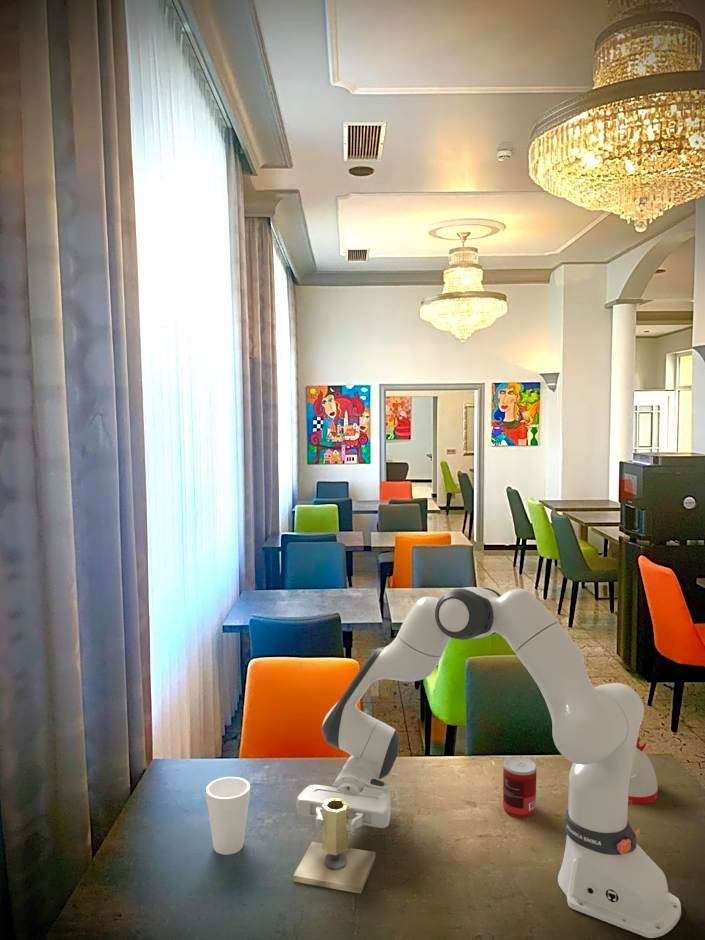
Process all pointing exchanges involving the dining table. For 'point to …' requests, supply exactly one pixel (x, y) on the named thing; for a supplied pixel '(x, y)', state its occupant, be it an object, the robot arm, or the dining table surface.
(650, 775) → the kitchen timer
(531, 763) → the canned food
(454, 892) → the dining table surface
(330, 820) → the collar
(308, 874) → the shaft stand
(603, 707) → the robot arm
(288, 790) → the dining table surface
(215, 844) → the foam cup
